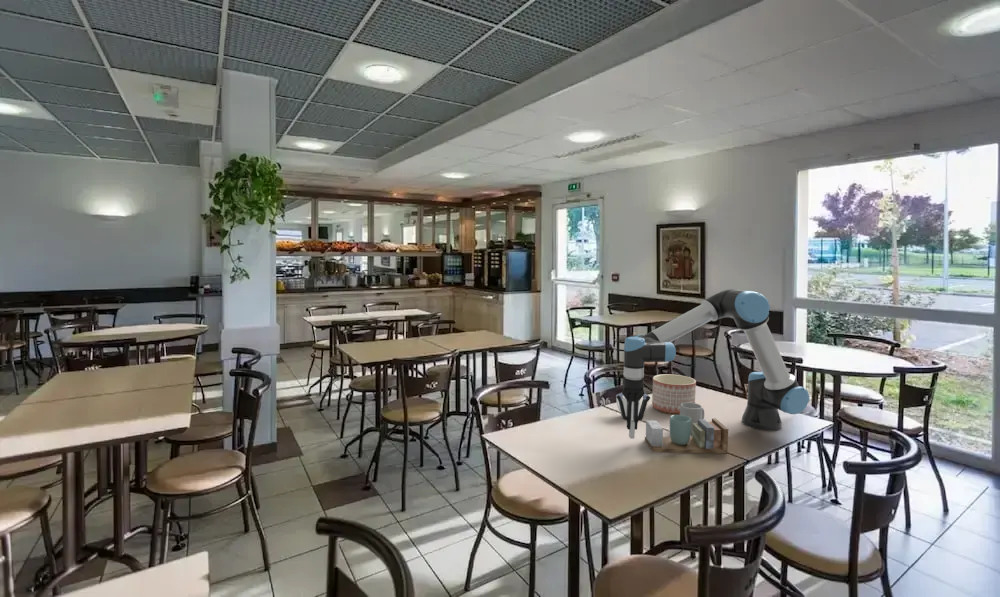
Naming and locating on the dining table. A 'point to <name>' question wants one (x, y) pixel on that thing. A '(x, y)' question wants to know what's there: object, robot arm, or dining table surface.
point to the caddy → (699, 439)
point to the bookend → (654, 433)
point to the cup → (680, 429)
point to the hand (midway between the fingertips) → (631, 437)
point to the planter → (672, 392)
